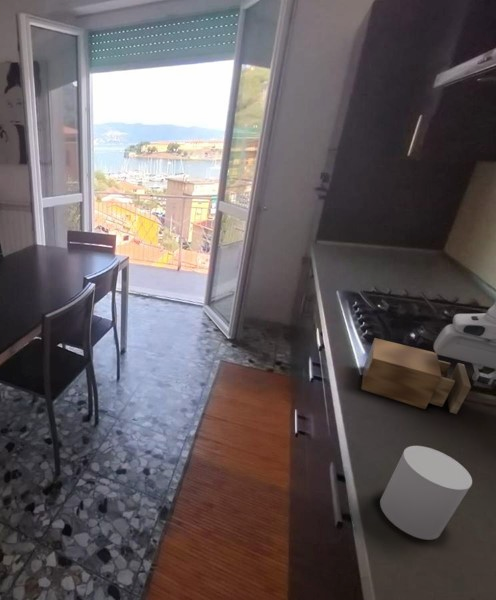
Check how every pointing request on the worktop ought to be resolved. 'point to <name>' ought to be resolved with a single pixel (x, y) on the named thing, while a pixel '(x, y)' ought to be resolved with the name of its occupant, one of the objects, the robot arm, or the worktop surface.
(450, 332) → the robot arm
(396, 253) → the worktop surface
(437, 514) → the cup
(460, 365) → the drawer
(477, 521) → the worktop surface
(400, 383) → the cabinet
